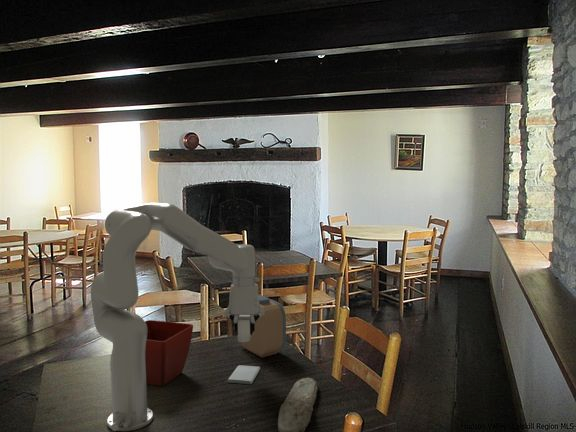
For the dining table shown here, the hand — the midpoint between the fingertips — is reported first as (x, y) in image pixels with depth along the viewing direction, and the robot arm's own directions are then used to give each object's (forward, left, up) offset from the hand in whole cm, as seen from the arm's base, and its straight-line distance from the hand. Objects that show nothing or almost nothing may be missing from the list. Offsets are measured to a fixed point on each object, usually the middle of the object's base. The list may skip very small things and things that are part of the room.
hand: (244, 333), depth 175 cm
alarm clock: (+24, -4, -15) cm, 28 cm away
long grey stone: (-24, -18, -16) cm, 34 cm away
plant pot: (0, +30, -15) cm, 34 cm away
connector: (0, 0, -1) cm, 1 cm away
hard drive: (0, 0, -16) cm, 16 cm away
